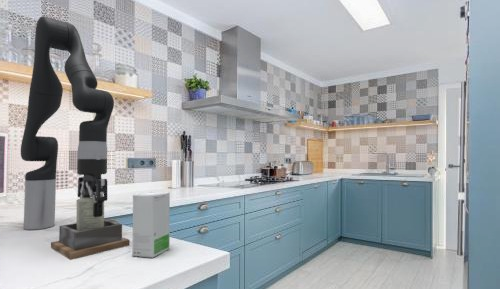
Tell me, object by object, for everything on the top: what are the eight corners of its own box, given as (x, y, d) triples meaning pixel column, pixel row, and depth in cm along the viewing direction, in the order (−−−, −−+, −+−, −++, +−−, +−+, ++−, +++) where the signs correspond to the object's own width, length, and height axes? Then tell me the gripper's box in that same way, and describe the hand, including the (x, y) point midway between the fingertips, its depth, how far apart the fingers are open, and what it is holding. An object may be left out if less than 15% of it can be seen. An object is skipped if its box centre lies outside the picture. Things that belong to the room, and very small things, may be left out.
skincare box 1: (104, 238, 84) (105, 196, 85) (100, 242, 80) (101, 198, 81) (80, 239, 83) (81, 197, 83) (75, 244, 79) (76, 199, 79)
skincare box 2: (152, 258, 71) (153, 195, 72) (129, 256, 73) (130, 194, 74) (170, 248, 79) (171, 191, 80) (149, 246, 81) (150, 191, 82)
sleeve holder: (50, 247, 80) (51, 226, 81) (105, 236, 92) (106, 217, 92) (70, 259, 71) (71, 234, 71) (129, 245, 82) (129, 224, 83)
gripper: (68, 157, 84) (67, 213, 83) (89, 157, 75) (87, 220, 74) (95, 157, 90) (94, 210, 89) (117, 157, 81) (116, 215, 80)
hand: (91, 214), depth 82 cm, fingers open, 8 cm apart
